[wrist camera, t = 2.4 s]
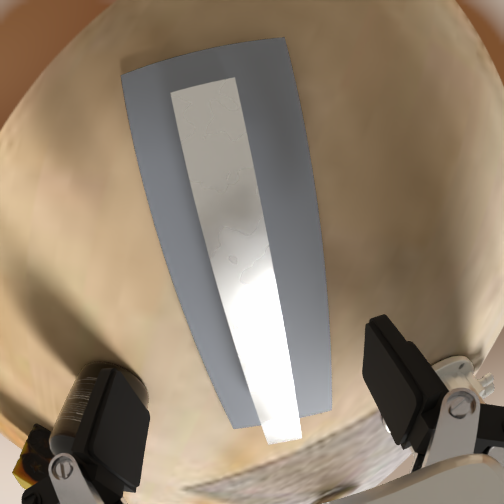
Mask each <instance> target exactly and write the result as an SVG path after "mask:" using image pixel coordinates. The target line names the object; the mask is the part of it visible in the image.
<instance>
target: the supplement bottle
mask: <svg viewBox="0 0 504 504" xmlns="http://www.w3.org/2000/svg"><path fill="white" fill-rule="evenodd" d="M106 368H116V369H117V370H118V371H120V372H121V373H122V374H123V376H124V377H125V379H126V380H127V382H128V383H129V385H130V386H131V388H132V389H133V390H134V392H135V393H136V395H137V396H138V398H139V399H140V400H141V402H142V403H143V404H144V406H145V407H146V409H147V408H148V403H149V396H148V392H147V390H146V388H145V386H144V385H143V383H142V382H141V381H140V380H139V379H138V378H137V377H136V376H135V375H133V374H132V373H131V372H129V371H127V370H126V369H124V368H122V367H120V366H117V365H115V364H111V363H107V362H92V363H89V364H87V365H85V366H84V367H83V368H82V369H81V371H80V372H79V374H78V376H77V378H76V380H75V382H74V384H73V386H72V388H71V390H70V392H69V394H68V396H67V398H66V401H65V403H64V405H63V407H62V409H61V411H60V414H59V416H58V418H57V420H56V423H55V425H54V427H53V430H52V432H51V435H50V438H49V445H50V449H51V452H52V454H53V455H54V457H55V456H56V455H58V454H61V453H67V454H70V455H71V456H72V453H73V452H72V451H71V449H72V446H73V443H74V439H75V436H76V433H77V431H78V428H79V425H80V422H81V419H82V416H83V414H84V411H85V408H86V405H87V403H88V400H89V397H90V395H91V392H92V390H93V387H94V385H95V382H96V380H97V377H98V375H99V372H100V371H101V369H106Z"/></svg>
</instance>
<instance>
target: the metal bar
mask: <svg viewBox="0 0 504 504" xmlns="http://www.w3.org/2000/svg"><path fill="white" fill-rule="evenodd" d="M171 98H172V103H173V108H174V113H175V118H176V122H177V127H178V132H179V136H180V141H181V145H182V150H183V154H184V158H185V163H186V167H187V171H188V176H189V180H190V184H191V188H192V192H193V196H194V200H195V204H196V208H197V212H198V216H199V220H200V224H201V228H202V232H203V236H204V239H205V243H206V247H207V251H208V254H209V258H210V262H211V265H212V269H213V272H214V276H215V280H216V283H217V287H218V290H219V294H220V297H221V301H222V304H223V307H224V311H225V314H226V317H227V321H228V324H229V327H230V331H231V334H232V337H233V341H234V344H235V347H236V350H237V353H238V357H239V360H240V363H241V366H242V369H243V372H244V375H245V378H246V381H247V384H248V387H249V390H250V393H251V396H252V399H253V402H254V405H255V408H256V411H257V414H258V417H259V420H260V423H261V426H262V428H263V431H264V434H265V437H266V440H267V442H268V445H269V444H275V443H280V442H286V441H291V440H296V439H301V438H302V434H301V428H300V421H299V415H298V409H297V402H296V396H295V390H294V384H293V378H292V372H291V366H290V360H289V354H288V348H287V342H286V336H285V331H284V325H283V319H282V313H281V308H280V302H279V297H278V291H277V285H276V280H275V275H274V269H273V264H272V258H271V253H270V248H269V242H268V237H267V232H266V227H265V221H264V216H263V211H262V206H261V201H260V196H259V191H258V186H257V181H256V176H255V171H254V166H253V161H252V156H251V151H250V146H249V141H248V136H247V132H246V127H245V122H244V117H243V113H242V108H241V103H240V99H239V94H238V89H237V85H236V80H235V77H234V78H229V79H224V80H219V81H215V82H210V83H206V84H202V85H197V86H193V87H189V88H186V89H182V90H178V91H175V92H171Z"/></svg>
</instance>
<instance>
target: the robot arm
mask: <svg viewBox="0 0 504 504" xmlns="http://www.w3.org/2000/svg"><path fill="white" fill-rule="evenodd" d="M362 374H363V378H364V381H365V383H366V385H367V387H368V389H369V390H370V392H371V394H372V396H373V398H374V400H375V402H376V404H377V406H378V408H379V410H380V413H381V415H382V417H383V425H384V427H385V429H386V431H387V432H388V433H390V434H391V435H392V437H393V439H394V441H395V443H396V444H397V445H400V444H401V446H402V448H403V450H404V449H406V448H408V447H409V448H410V450H411V452H412V454H413V456H414V461H413V464H412V466H411V469H410V472H409V474H407V475H405V476H402V477H400V478H397V479H395V480H393V481H390V482H388V483H385V484H382V485H380V486H377V487H374V488H371V489H369V490H366V491H363V492H360V493H357V494H354V495H350V496H347V497H344V498H341V499H337V500H334V501H330V502H326V503H322V504H504V407H502V406H495V405H488V404H486V403H485V402H484V400H483V399H484V398H485V397H487V396H488V395H490V394H491V393H492V392H493V391H494V384H493V380H494V378H493V374H492V373H488V374H486V375H485V376H483V377H482V378H481V379H479V380H478V379H476V377H475V376H474V375H473V374H474V367H473V364H472V363H471V361H470V360H469V359H468V358H467V357H465V356H453V357H450V358H447V359H444V360H442V361H440V362H438V363H436V364H434V365H432V366H431V365H430V364H429V363H428V361H427V360H426V359H425V357H424V356H423V355H422V353H421V352H420V351H419V349H418V348H417V347H416V346H415V344H414V343H413V342H411V341H406V340H405V338H404V337H403V336H402V335H401V333H400V332H399V331H398V329H397V328H396V327H395V326H394V324H393V323H392V322H391V321H390V319H389V318H388V317H387V316H386V315H385V314H383V315H380V316H377V317H374V318H371V319H370V321H369V323H368V324H366V327H365V344H364V358H363V369H362ZM149 422H150V414H149V411H148V410H147V409H146V407H145V406H144V404H143V403H142V402H141V400H140V399H139V398H138V396H137V395H136V393H135V392H134V390H133V389H132V388H131V386H130V385H129V383H128V382H127V380H126V379H125V377H124V376H123V374H122V373H121V372H120V371H118V370H117V369H116V368H106V369H101V371H100V372H99V375H98V377H97V380H96V382H95V385H94V387H93V390H92V392H91V395H90V397H89V400H88V403H87V405H86V408H85V411H84V414H83V416H82V419H81V422H80V425H79V428H78V431H77V433H76V436H75V439H74V443H73V446H72V449H71V451H72V452H73V453H72V456H71V455H70V454H67V453H61V454H58V455H56V456H55V457H54V458H53V459H52V460H51V462H50V464H49V469H48V471H49V476H47V477H45V478H44V479H42V480H41V481H39V482H37V483H36V484H34V485H32V486H31V487H29V488H27V489H26V490H25V491H24V493H23V495H22V504H128V503H127V501H126V500H125V499H124V497H123V491H126V492H135V493H136V487H138V486H139V485H140V479H141V472H142V465H143V458H144V451H145V445H146V439H147V433H148V427H149Z"/></svg>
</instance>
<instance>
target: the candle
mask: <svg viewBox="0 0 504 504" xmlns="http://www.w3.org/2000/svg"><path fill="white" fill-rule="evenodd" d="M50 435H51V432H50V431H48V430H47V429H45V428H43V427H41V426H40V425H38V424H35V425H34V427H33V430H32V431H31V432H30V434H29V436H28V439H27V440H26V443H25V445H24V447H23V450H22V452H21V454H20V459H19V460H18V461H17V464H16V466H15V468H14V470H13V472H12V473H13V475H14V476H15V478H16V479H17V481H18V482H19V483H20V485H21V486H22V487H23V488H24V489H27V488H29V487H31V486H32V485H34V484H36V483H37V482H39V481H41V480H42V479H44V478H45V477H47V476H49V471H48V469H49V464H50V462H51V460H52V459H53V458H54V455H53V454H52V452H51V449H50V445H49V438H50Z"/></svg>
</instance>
